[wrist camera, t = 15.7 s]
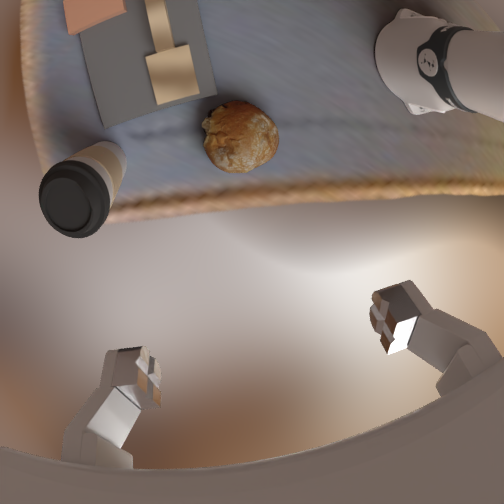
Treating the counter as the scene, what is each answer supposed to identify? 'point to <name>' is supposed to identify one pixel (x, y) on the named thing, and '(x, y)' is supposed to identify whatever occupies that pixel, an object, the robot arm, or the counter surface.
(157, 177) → the counter surface
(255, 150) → the bread roll
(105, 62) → the mat
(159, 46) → the spatula
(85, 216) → the coffee cup
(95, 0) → the tile
